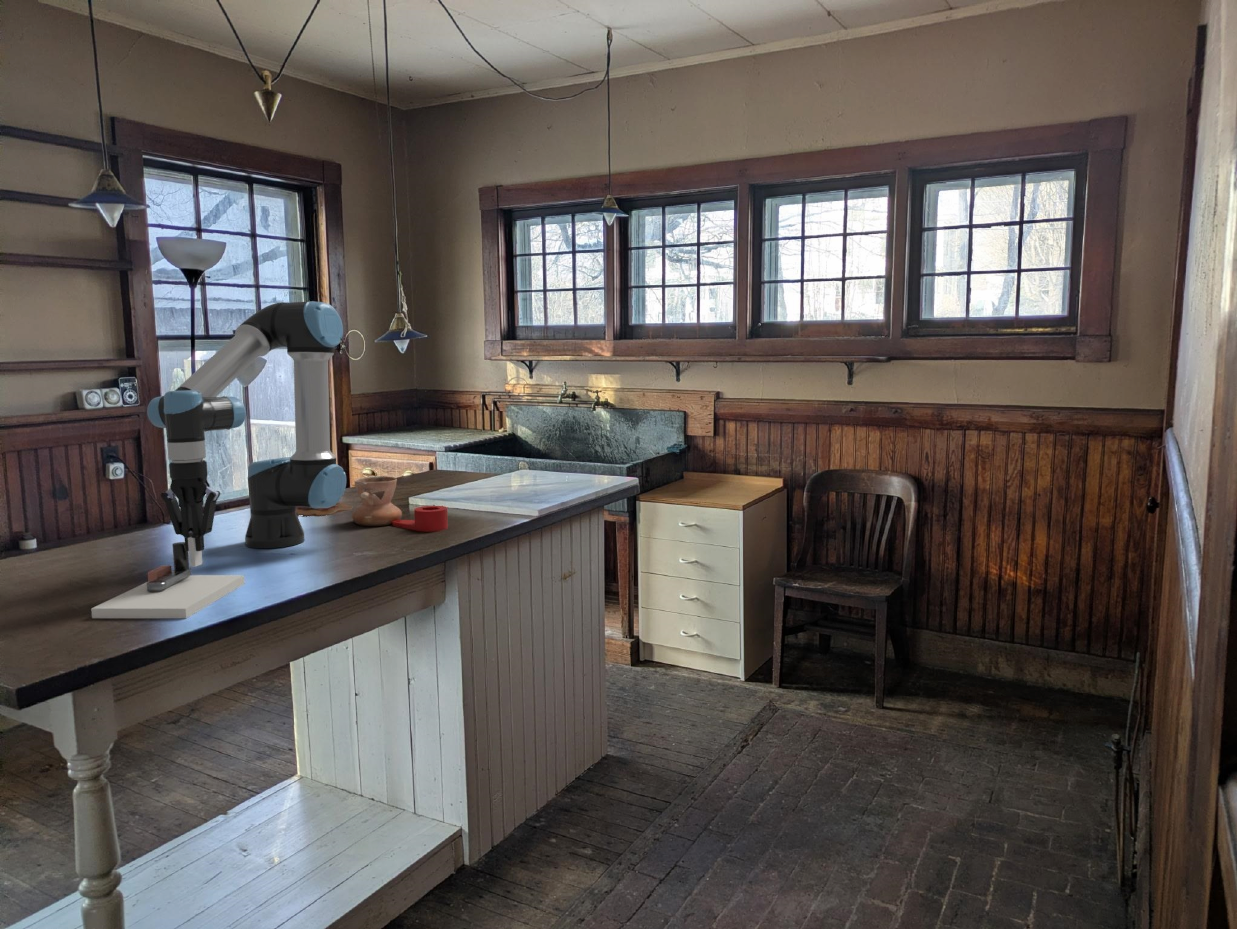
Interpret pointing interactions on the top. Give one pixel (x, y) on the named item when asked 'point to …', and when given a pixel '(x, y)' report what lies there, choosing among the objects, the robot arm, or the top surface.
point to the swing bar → (177, 574)
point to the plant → (322, 510)
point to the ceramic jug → (376, 501)
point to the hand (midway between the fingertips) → (196, 565)
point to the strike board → (169, 597)
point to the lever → (426, 519)
